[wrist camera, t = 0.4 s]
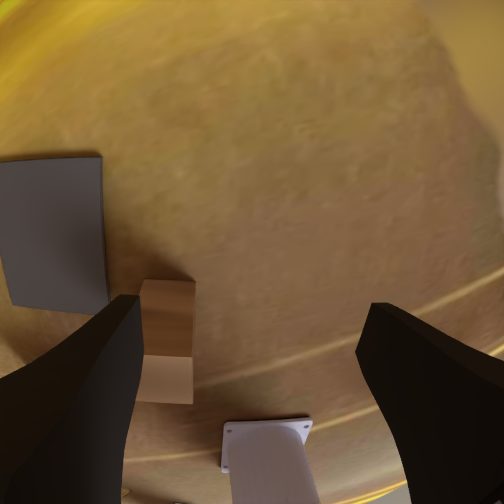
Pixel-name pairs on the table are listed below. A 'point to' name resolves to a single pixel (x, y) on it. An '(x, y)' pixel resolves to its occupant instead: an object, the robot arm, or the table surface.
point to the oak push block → (167, 341)
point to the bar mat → (54, 234)
